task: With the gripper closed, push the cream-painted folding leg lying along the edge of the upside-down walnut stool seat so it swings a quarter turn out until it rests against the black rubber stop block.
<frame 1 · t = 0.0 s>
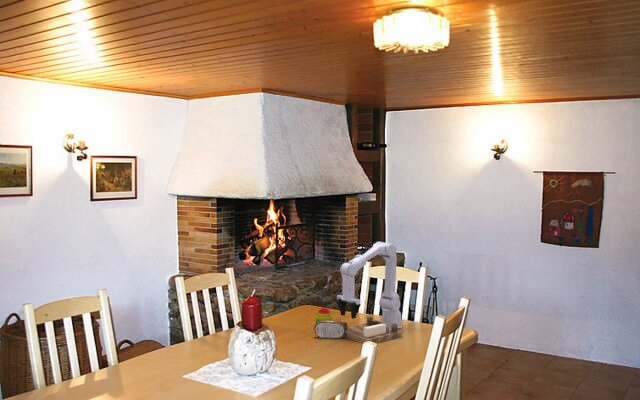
hand: (348, 316, 280), 10 cm above the table, tool pointing down, fingers open, 7 cm apart
decorative egg: (323, 327, 299), on the table
folding leg: (376, 329, 277), point 5 cm above the table, hinge at 0.0°
stool seat: (369, 335, 284), on the table
tin: (329, 338, 280), on the table
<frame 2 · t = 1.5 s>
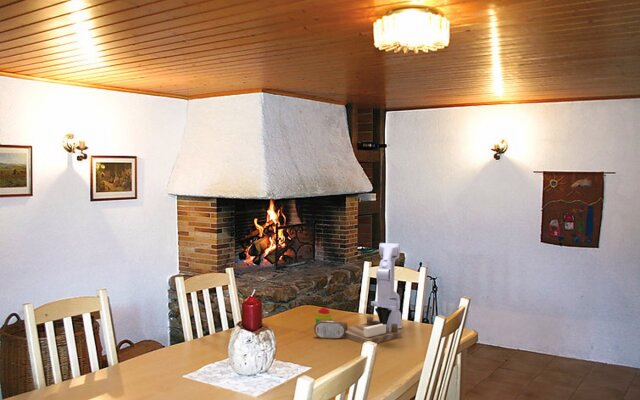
hand: (383, 323, 270), 9 cm above the table, tool pointing down, fingers closed
nothing on the table moved.
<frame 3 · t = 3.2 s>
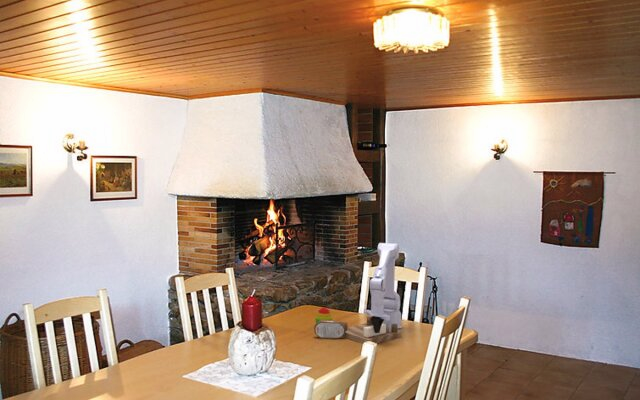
hand: (377, 332, 274), 4 cm above the table, tool pointing down, fingers closed
folding leg: (376, 329, 277), point 5 cm above the table, hinge at 0.0°, touching gripper
everything else where it was.
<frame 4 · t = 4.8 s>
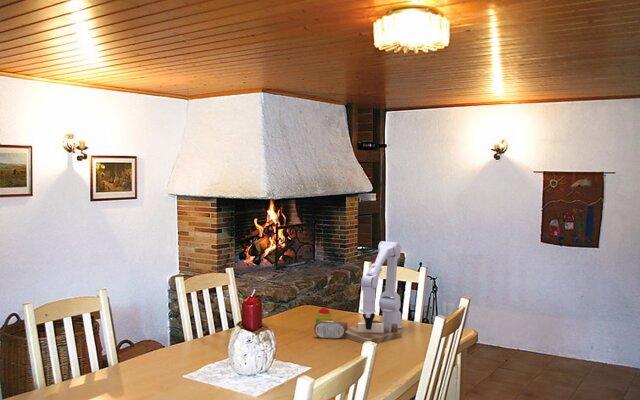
hand: (368, 329, 279), 5 cm above the table, tool pointing down, fingers closed, pressing on folding leg
folding leg: (373, 327, 281), point 5 cm above the table, hinge at -40.8°, touching gripper
everything else where it was.
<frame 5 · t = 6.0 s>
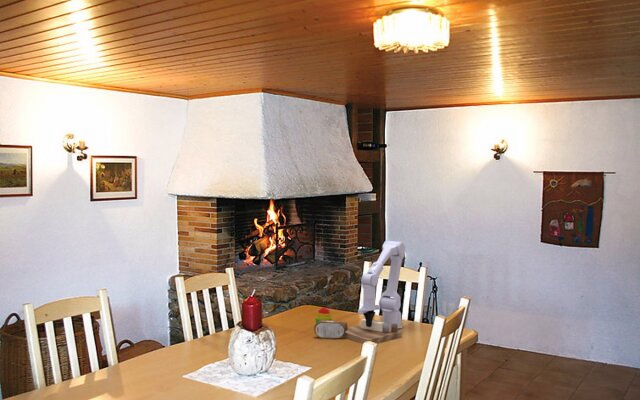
hand: (368, 326, 284), 5 cm above the table, tool pointing down, fingers closed, pressing on folding leg
folding leg: (375, 325, 284), point 5 cm above the table, hinge at -76.0°, touching gripper
everything else where it was.
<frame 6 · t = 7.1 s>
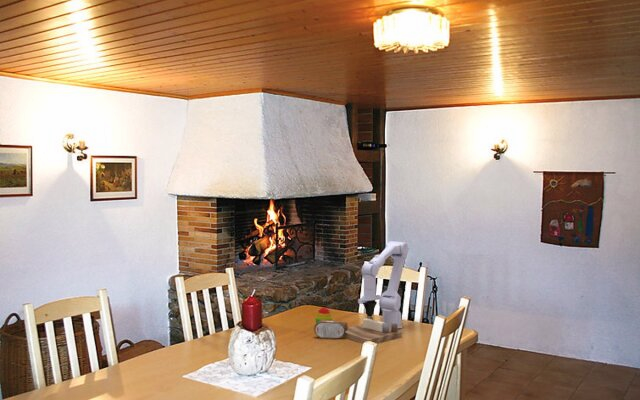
hand: (369, 316, 284), 9 cm above the table, tool pointing down, fingers closed
folding leg: (376, 325, 284), point 5 cm above the table, hinge at -83.6°
everything else where it was.
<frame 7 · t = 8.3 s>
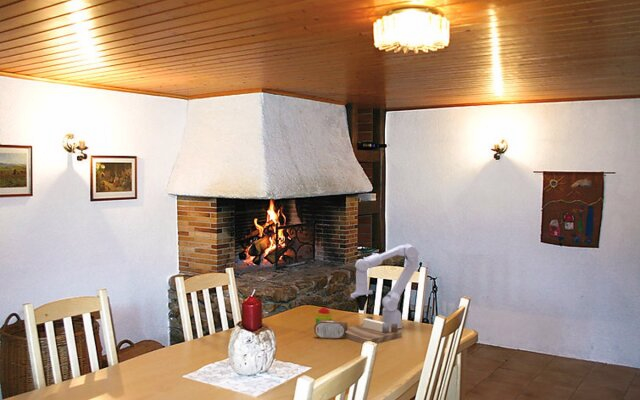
hand: (361, 310, 296), 9 cm above the table, tool pointing down, fingers closed
nothing on the table moved.
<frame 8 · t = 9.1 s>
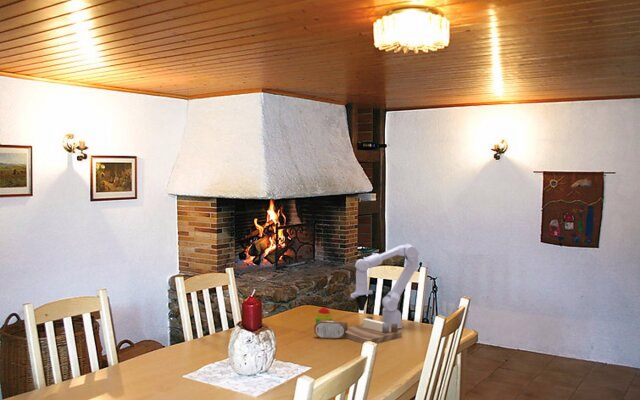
hand: (361, 310, 296), 9 cm above the table, tool pointing down, fingers closed
nothing on the table moved.
at the end: folding leg at -84° (first picture: +0°) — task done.
